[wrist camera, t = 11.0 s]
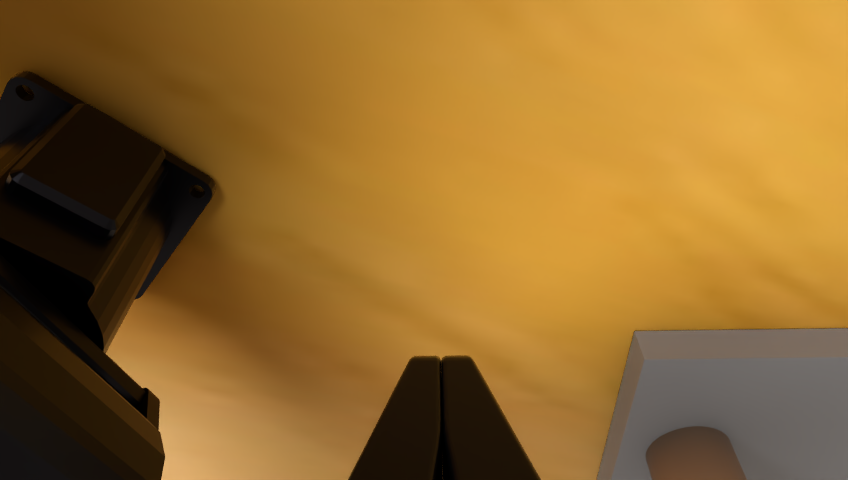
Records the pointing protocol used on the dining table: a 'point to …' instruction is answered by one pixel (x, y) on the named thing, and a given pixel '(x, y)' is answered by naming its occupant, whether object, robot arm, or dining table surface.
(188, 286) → the dining table surface
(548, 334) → the dining table surface
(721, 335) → the grey peg stand
